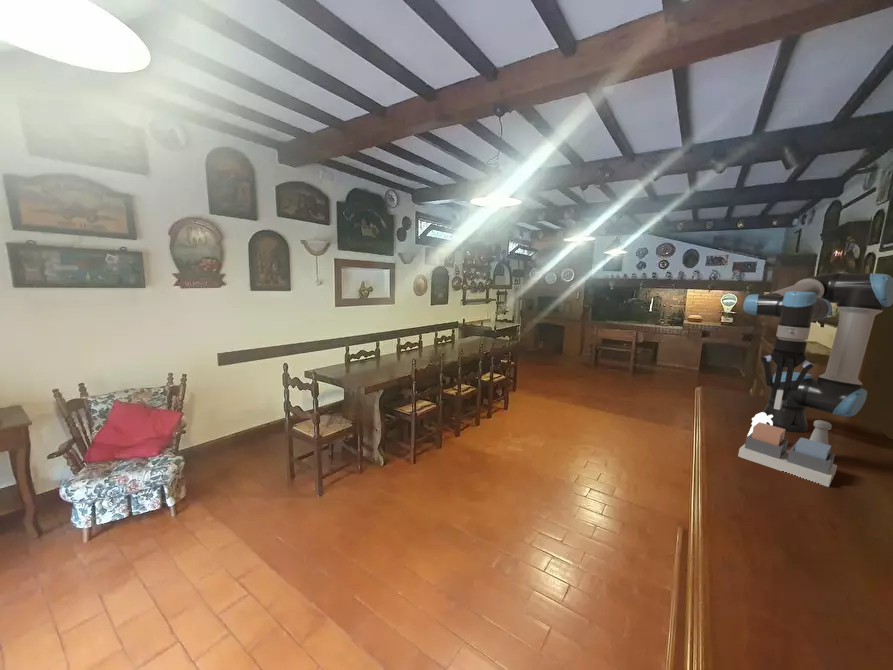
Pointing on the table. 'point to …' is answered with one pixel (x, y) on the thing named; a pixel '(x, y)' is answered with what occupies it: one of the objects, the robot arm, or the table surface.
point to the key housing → (789, 460)
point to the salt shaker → (821, 431)
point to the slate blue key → (813, 448)
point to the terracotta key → (768, 433)
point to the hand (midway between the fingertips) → (777, 408)
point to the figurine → (760, 420)
